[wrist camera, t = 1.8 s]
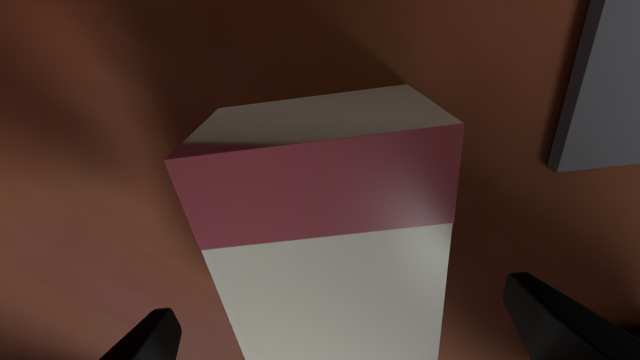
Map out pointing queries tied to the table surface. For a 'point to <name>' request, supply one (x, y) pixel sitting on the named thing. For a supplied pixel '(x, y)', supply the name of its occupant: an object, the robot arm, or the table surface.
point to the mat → (602, 92)
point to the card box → (326, 221)
